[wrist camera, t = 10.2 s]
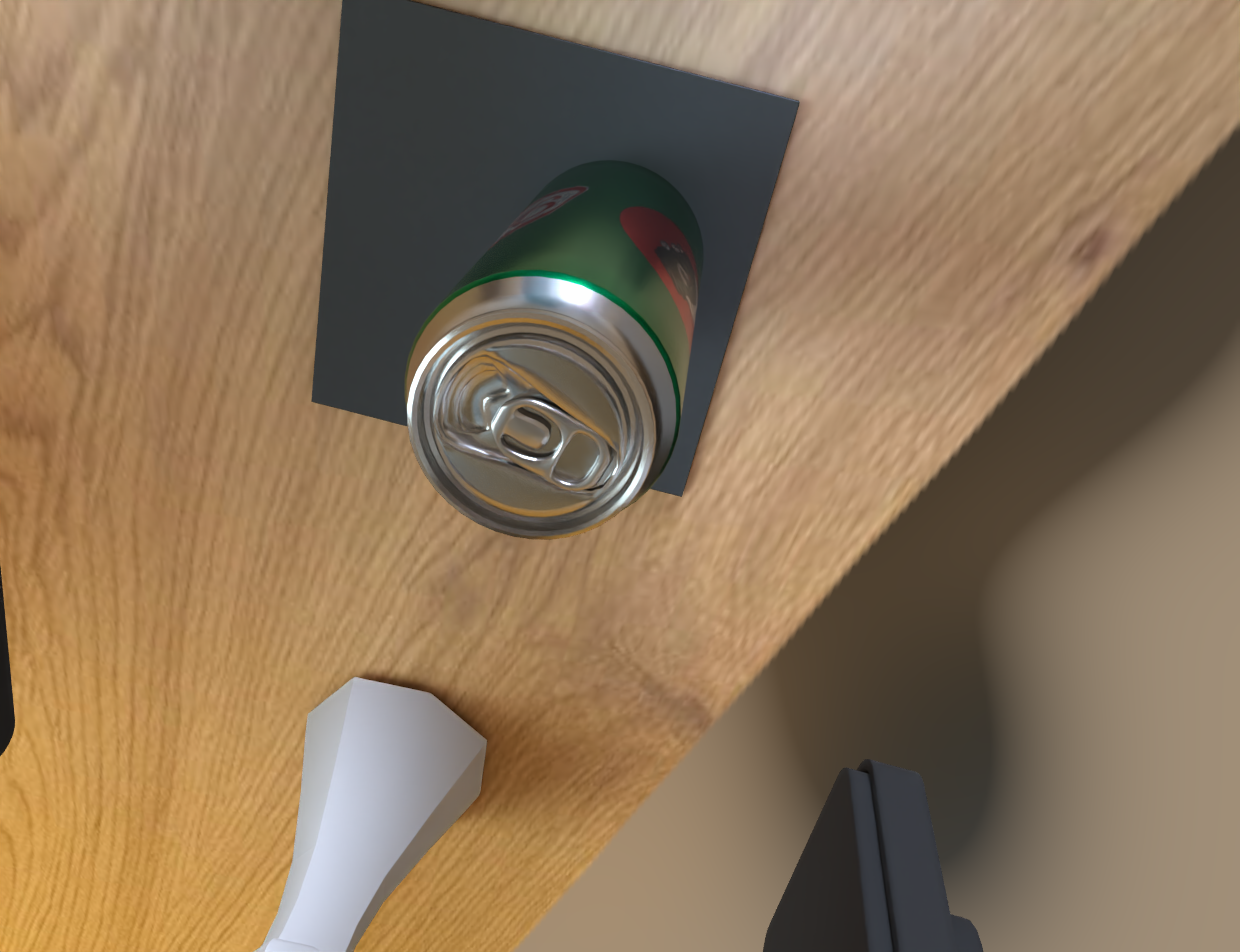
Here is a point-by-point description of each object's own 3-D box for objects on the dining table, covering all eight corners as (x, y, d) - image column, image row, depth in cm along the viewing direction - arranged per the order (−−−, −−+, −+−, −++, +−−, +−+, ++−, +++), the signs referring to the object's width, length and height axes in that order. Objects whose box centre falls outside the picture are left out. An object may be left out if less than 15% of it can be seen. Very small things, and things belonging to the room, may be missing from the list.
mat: (799, 100, 25) (800, 102, 25) (682, 494, 31) (682, 497, 30) (346, -17, 25) (343, -17, 25) (313, 399, 31) (311, 402, 30)
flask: (281, 767, 39) (144, 1005, 30) (342, 644, 35) (207, 870, 26) (445, 843, 39) (359, 1095, 31) (520, 730, 36) (447, 976, 27)
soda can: (575, 119, 26) (454, 229, 15) (739, 216, 26) (734, 387, 16) (495, 281, 28) (342, 474, 17) (648, 366, 29) (590, 603, 18)
